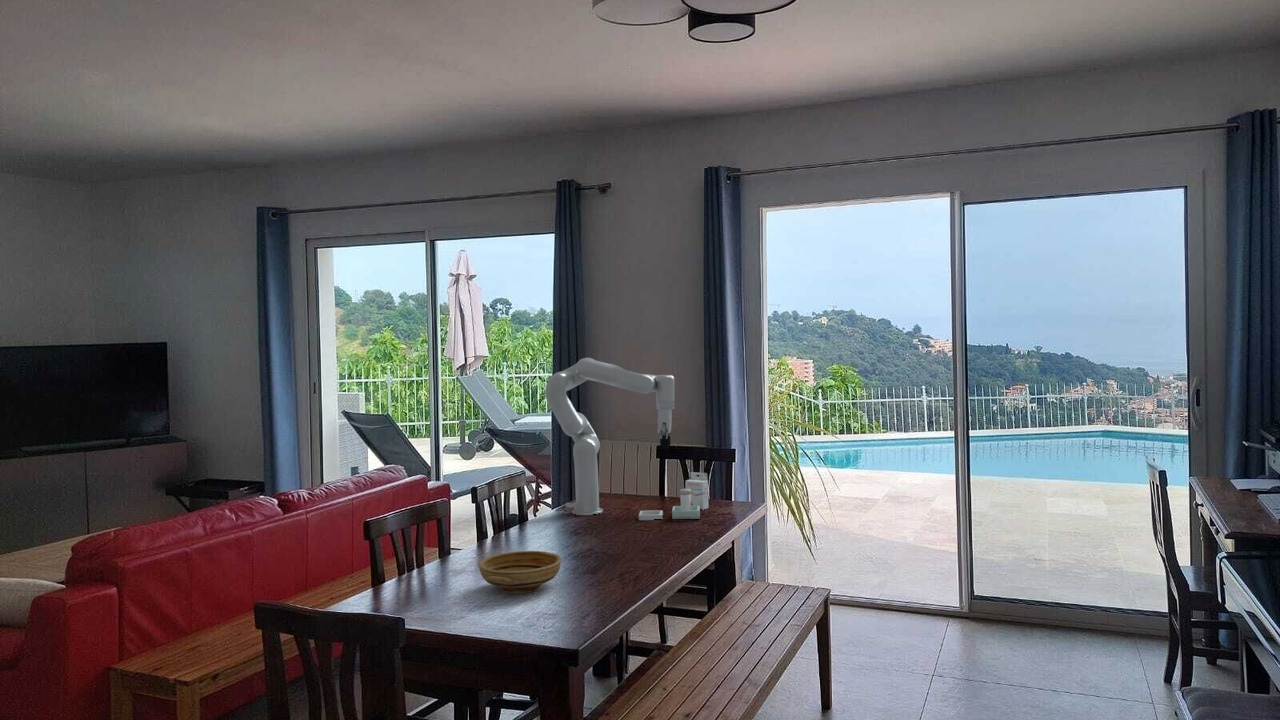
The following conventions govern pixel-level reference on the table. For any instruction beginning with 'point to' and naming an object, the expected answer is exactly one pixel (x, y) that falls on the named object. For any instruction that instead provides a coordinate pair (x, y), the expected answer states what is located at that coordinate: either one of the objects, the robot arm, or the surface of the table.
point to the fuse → (685, 499)
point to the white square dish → (650, 515)
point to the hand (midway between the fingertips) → (665, 447)
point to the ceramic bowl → (520, 570)
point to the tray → (686, 513)
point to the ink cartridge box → (698, 489)
